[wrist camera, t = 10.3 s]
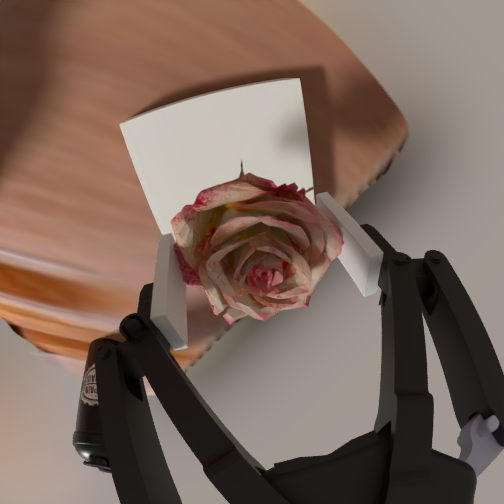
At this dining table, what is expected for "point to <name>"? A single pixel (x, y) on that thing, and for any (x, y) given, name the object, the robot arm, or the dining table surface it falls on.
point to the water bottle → (91, 416)
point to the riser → (219, 143)
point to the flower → (254, 246)
